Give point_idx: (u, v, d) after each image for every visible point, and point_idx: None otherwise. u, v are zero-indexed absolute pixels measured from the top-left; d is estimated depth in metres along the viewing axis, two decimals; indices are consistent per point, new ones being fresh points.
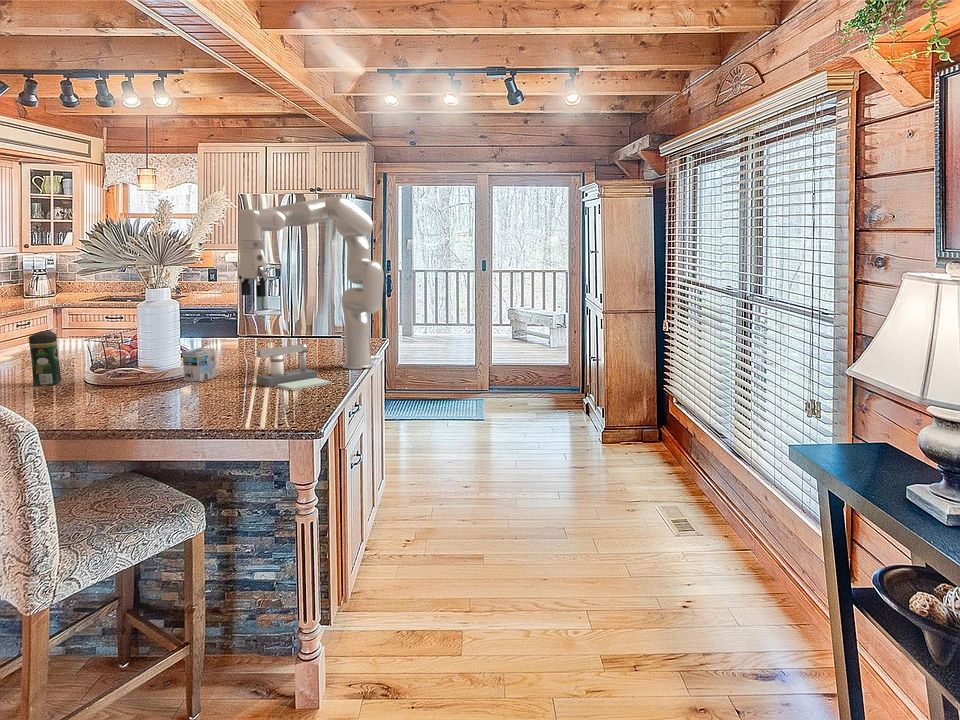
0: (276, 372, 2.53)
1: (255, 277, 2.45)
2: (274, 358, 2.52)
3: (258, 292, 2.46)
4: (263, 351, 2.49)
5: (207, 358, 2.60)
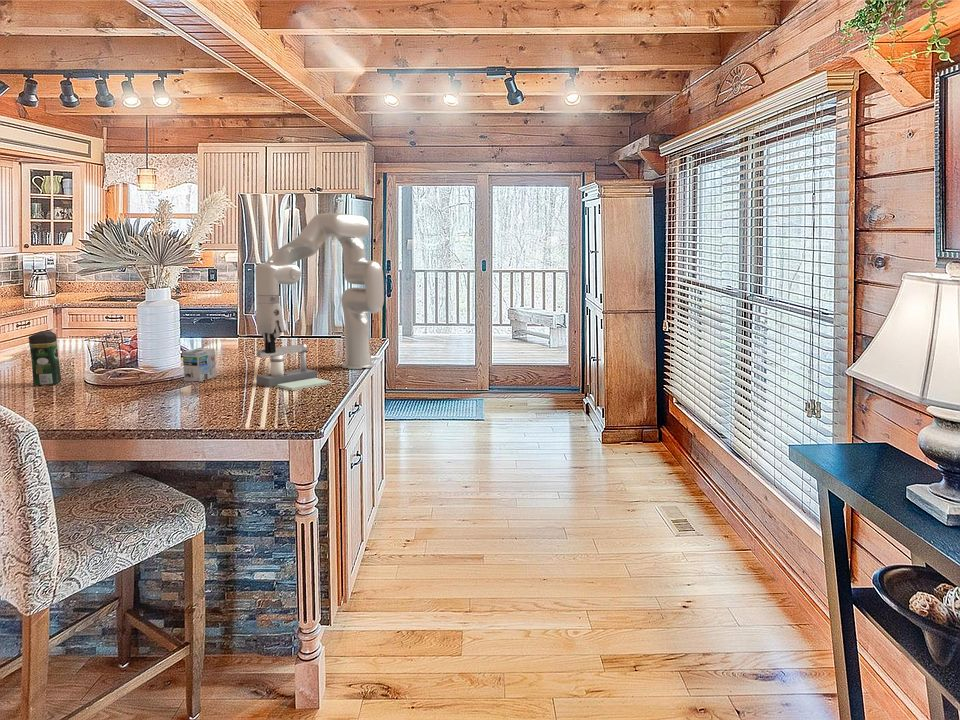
0: (276, 372, 2.53)
1: (272, 332, 2.44)
2: (274, 358, 2.52)
3: (268, 349, 2.48)
4: (263, 351, 2.49)
5: (207, 358, 2.60)
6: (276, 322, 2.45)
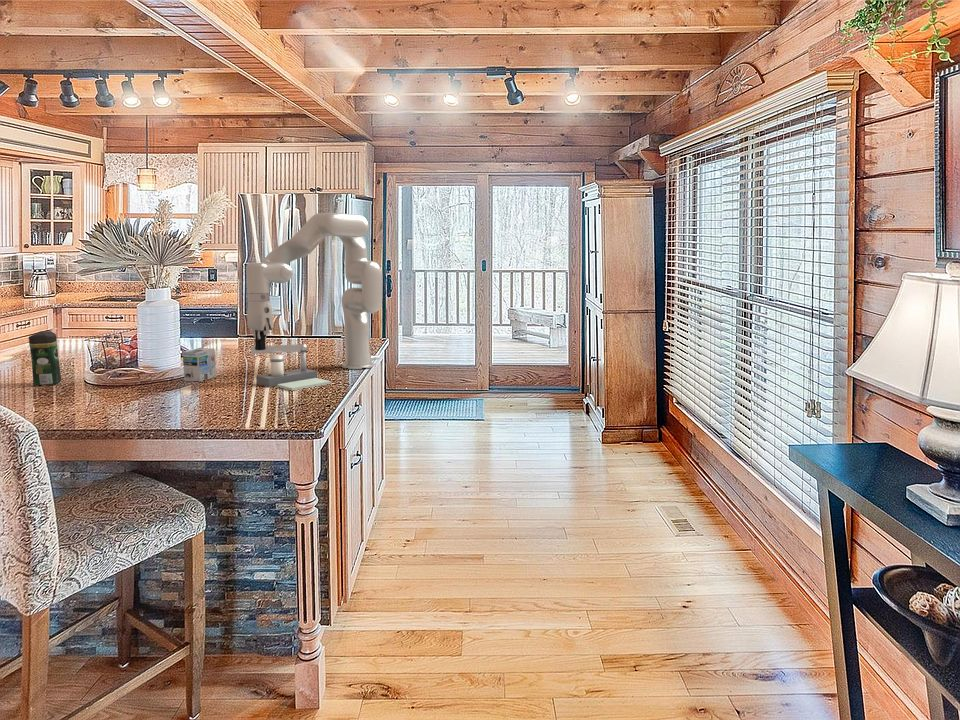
0: (276, 372, 2.53)
1: (262, 329, 2.49)
2: (274, 358, 2.52)
3: (258, 346, 2.53)
4: (254, 348, 2.55)
5: (207, 358, 2.60)
6: (266, 319, 2.50)
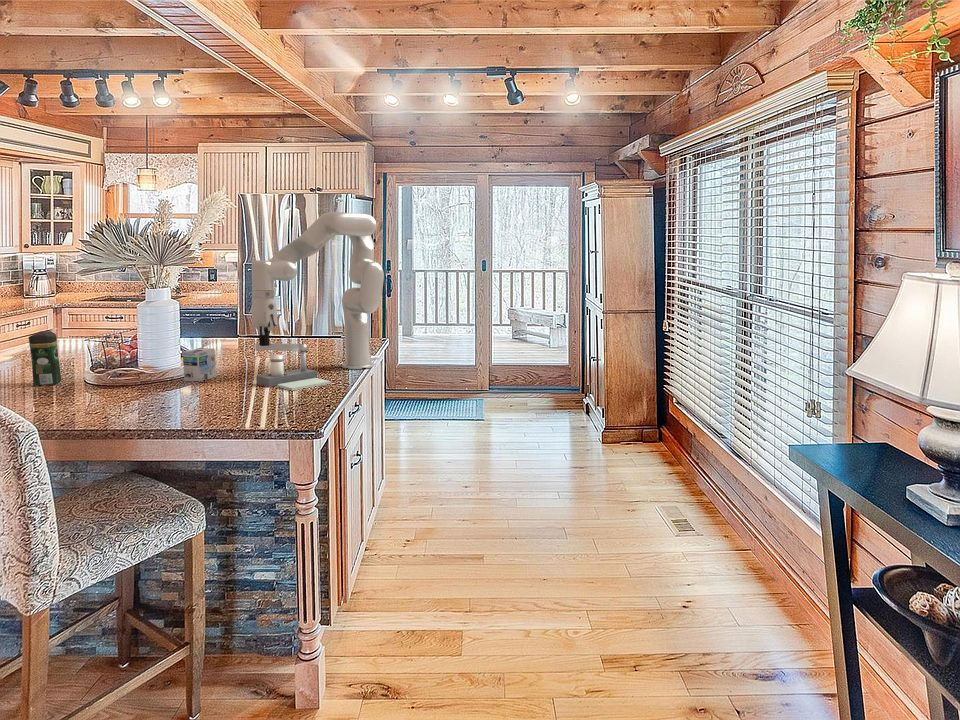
0: (276, 372, 2.53)
1: (266, 325, 2.56)
2: (274, 358, 2.52)
3: (262, 341, 2.60)
4: (258, 344, 2.64)
5: (207, 358, 2.60)
6: (270, 316, 2.57)
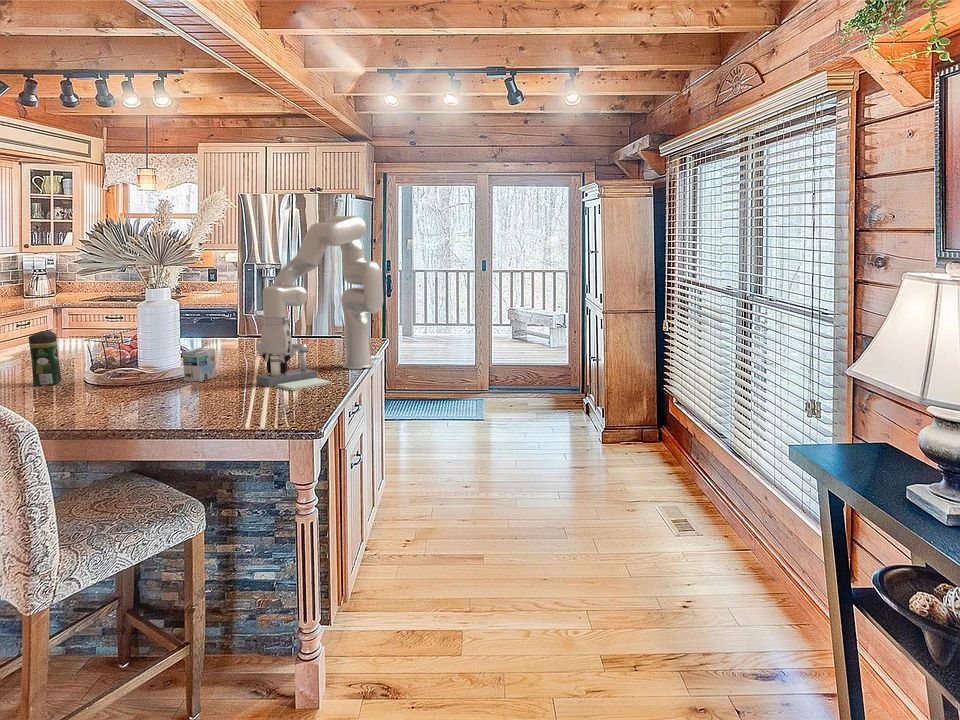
0: (276, 372, 2.53)
1: (286, 352, 2.51)
2: (274, 358, 2.52)
3: (283, 369, 2.53)
4: (259, 344, 2.64)
5: (207, 358, 2.60)
6: None
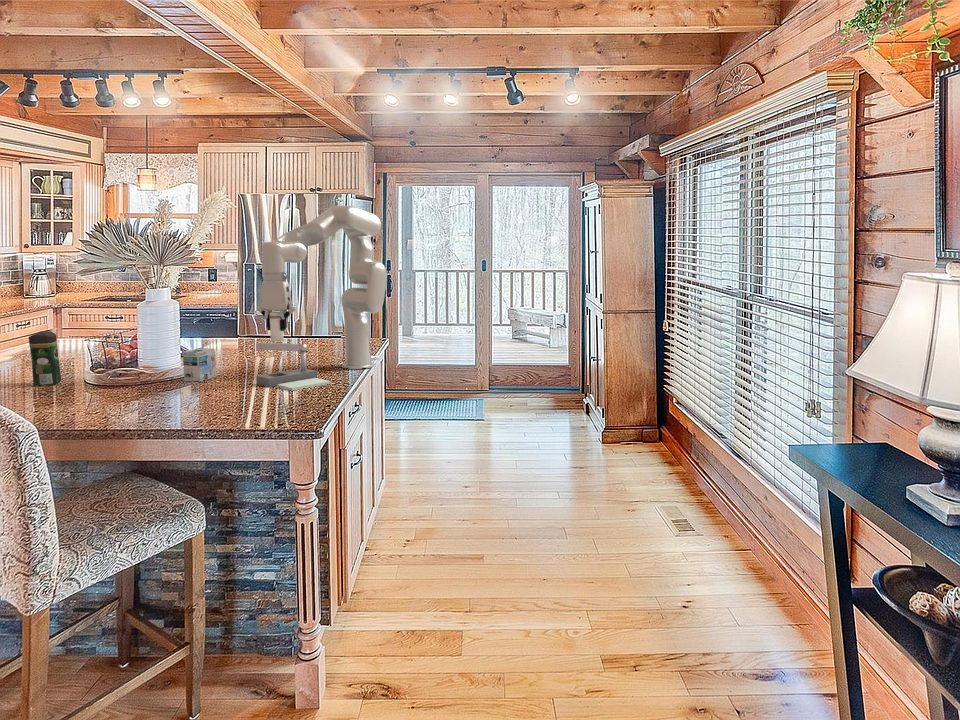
0: (275, 329, 2.50)
1: (285, 308, 2.49)
2: (273, 314, 2.49)
3: (282, 326, 2.51)
4: (259, 344, 2.64)
5: (207, 358, 2.60)
6: None
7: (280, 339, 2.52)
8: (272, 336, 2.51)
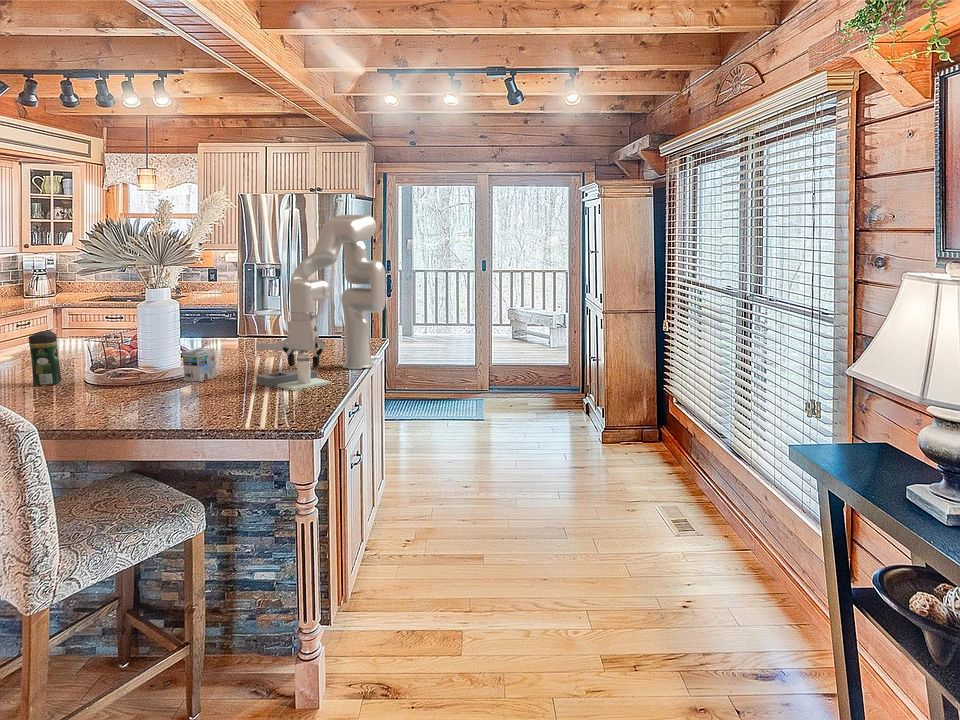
0: (303, 371, 2.49)
1: (313, 348, 2.47)
2: (301, 357, 2.48)
3: (315, 363, 2.48)
4: (259, 344, 2.64)
5: (207, 358, 2.60)
6: None
7: (307, 382, 2.50)
8: (299, 379, 2.50)
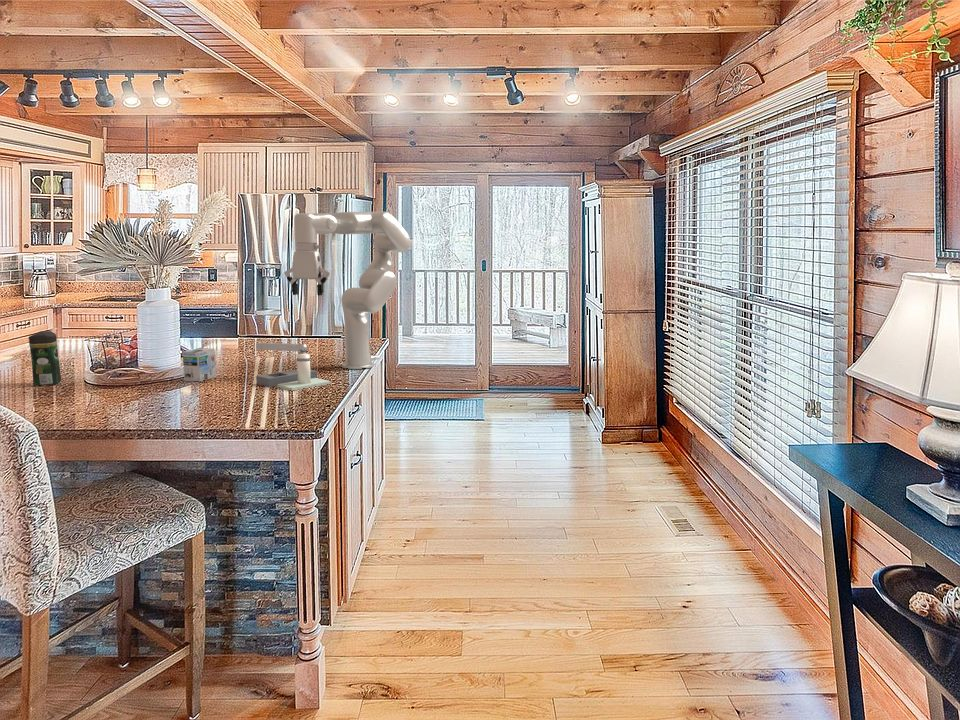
0: (303, 371, 2.49)
1: (316, 277, 2.61)
2: (301, 357, 2.48)
3: (319, 291, 2.62)
4: (259, 344, 2.64)
5: (207, 358, 2.60)
6: None
7: (307, 382, 2.50)
8: (299, 379, 2.50)
